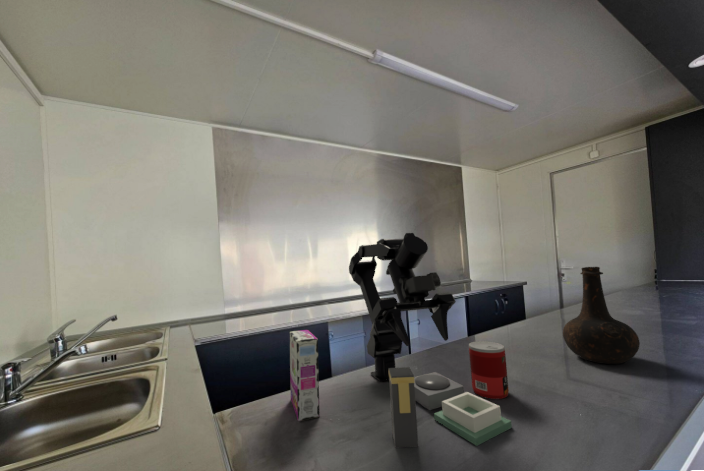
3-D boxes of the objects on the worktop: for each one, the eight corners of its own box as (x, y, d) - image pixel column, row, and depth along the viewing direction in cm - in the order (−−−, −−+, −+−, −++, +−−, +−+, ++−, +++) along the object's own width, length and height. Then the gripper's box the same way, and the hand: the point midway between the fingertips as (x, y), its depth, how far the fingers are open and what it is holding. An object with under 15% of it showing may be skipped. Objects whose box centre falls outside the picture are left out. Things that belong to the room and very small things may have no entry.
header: (434, 419, 58) (433, 400, 59) (467, 406, 63) (466, 388, 64) (476, 445, 50) (474, 423, 50) (511, 427, 54) (509, 407, 55)
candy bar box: (321, 417, 61) (318, 338, 63) (297, 423, 60) (295, 341, 61) (310, 395, 72) (308, 328, 73) (290, 400, 70) (288, 330, 72)
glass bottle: (580, 368, 81) (568, 268, 84) (556, 349, 98) (546, 267, 101) (660, 372, 76) (644, 266, 79) (619, 351, 93) (608, 265, 96)
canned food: (513, 400, 65) (509, 350, 66) (476, 399, 66) (471, 349, 67) (503, 386, 72) (499, 341, 73) (469, 385, 74) (466, 340, 75)
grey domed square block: (403, 392, 71) (402, 377, 72) (436, 383, 75) (435, 370, 76) (429, 410, 62) (428, 393, 62) (464, 399, 66) (463, 384, 66)
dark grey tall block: (392, 434, 54) (388, 368, 55) (413, 433, 54) (409, 367, 55) (395, 450, 49) (391, 377, 51) (419, 449, 49) (414, 376, 51)
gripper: (378, 261, 62) (401, 331, 52) (451, 258, 67) (485, 321, 58) (365, 289, 70) (382, 354, 60) (432, 284, 75) (458, 342, 66)
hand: (427, 342), depth 61 cm, fingers open, 9 cm apart
